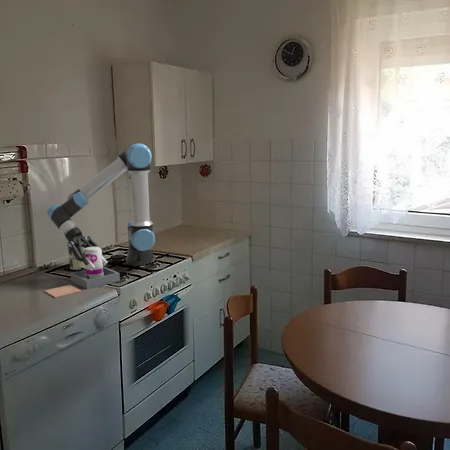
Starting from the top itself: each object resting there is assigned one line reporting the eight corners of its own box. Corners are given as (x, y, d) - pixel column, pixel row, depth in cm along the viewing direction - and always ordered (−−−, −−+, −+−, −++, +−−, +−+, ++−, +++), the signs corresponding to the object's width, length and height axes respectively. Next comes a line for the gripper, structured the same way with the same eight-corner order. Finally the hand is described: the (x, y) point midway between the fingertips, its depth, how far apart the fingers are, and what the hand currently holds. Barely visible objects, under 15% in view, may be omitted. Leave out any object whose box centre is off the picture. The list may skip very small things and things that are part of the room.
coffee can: (65, 268, 254) (63, 242, 251) (79, 263, 263) (77, 238, 260) (80, 270, 249) (78, 244, 247) (93, 265, 258) (91, 240, 256)
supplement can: (99, 281, 225) (96, 250, 222) (83, 280, 227) (80, 250, 224) (106, 276, 233) (104, 246, 230) (91, 275, 234) (88, 246, 232)
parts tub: (103, 273, 242) (102, 266, 241) (120, 281, 229) (119, 273, 229) (71, 281, 231) (70, 273, 230) (87, 289, 218) (86, 280, 217)
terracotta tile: (70, 285, 224) (69, 284, 224) (81, 291, 215) (81, 290, 215) (44, 291, 216) (44, 290, 216) (55, 298, 207) (55, 296, 207)
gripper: (82, 232, 242) (109, 265, 238) (51, 241, 223) (80, 277, 220) (89, 222, 239) (117, 256, 235) (58, 230, 220) (88, 267, 216)
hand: (99, 266), depth 227 cm, fingers closed on supplement can, 8 cm apart
